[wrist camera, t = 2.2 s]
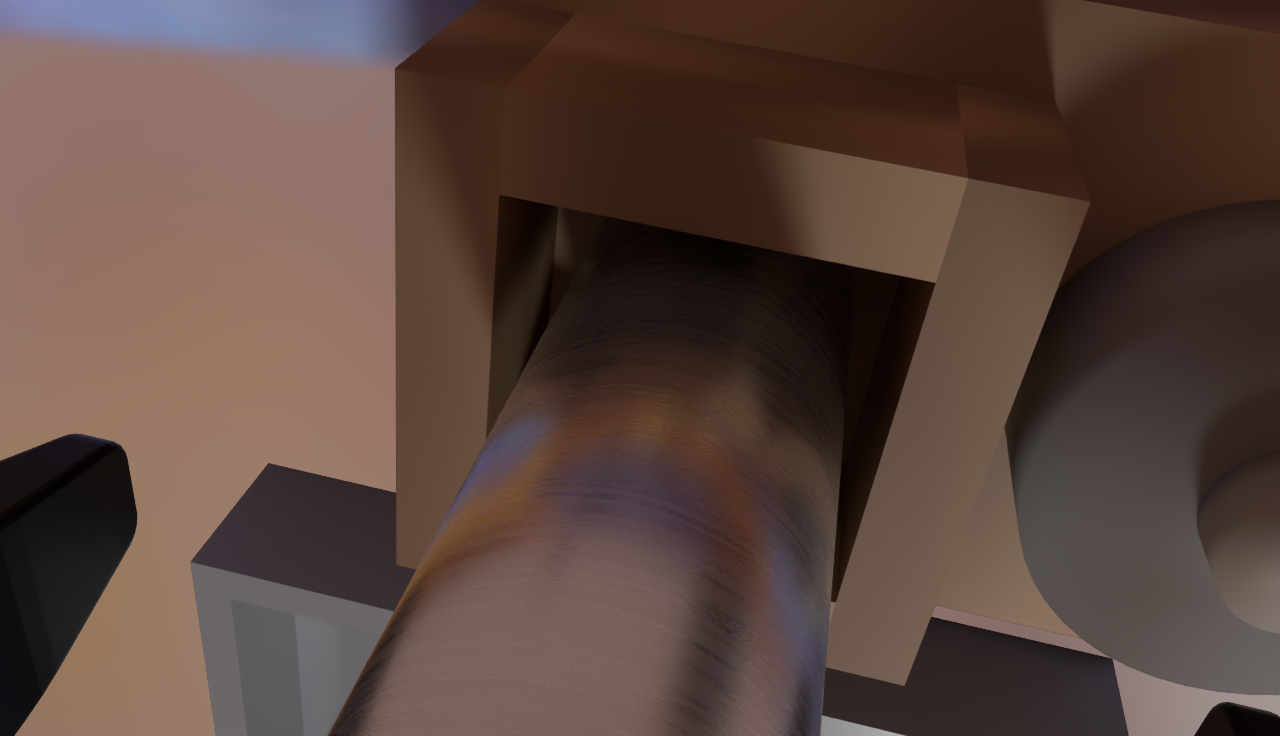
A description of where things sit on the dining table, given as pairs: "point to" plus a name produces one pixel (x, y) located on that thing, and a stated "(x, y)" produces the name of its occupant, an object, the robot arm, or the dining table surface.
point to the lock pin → (640, 513)
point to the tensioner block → (906, 282)
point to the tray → (373, 584)
